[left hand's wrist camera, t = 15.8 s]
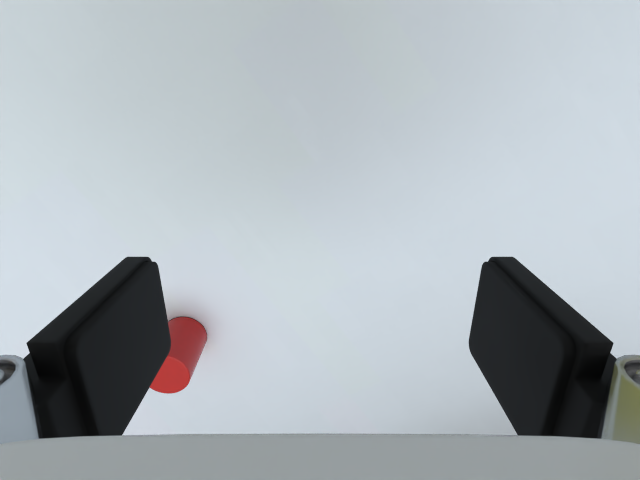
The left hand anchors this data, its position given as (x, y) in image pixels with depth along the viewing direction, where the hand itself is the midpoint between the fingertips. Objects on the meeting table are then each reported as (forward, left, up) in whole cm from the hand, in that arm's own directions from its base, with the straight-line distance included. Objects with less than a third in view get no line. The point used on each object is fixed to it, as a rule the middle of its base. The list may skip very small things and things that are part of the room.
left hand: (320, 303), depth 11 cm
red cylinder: (+4, -17, -16) cm, 24 cm away
